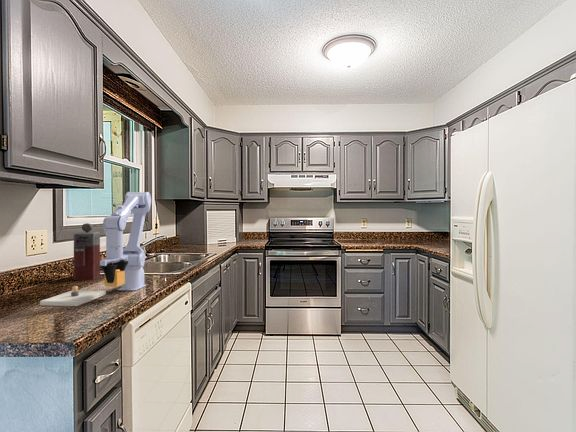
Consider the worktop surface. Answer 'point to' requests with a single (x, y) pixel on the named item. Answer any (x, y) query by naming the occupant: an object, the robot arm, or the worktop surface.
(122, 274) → the orange cube with dome
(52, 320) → the worktop surface
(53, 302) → the plate
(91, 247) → the glass decanter
